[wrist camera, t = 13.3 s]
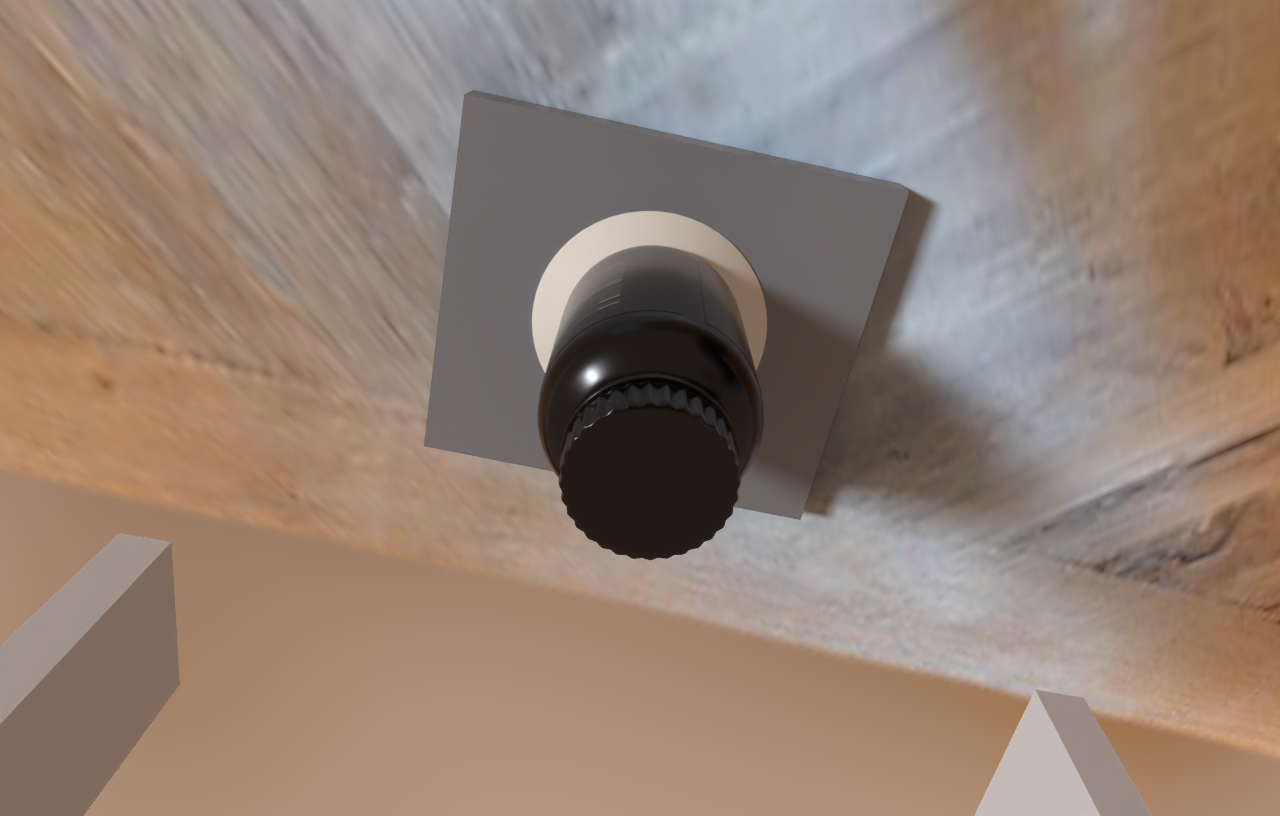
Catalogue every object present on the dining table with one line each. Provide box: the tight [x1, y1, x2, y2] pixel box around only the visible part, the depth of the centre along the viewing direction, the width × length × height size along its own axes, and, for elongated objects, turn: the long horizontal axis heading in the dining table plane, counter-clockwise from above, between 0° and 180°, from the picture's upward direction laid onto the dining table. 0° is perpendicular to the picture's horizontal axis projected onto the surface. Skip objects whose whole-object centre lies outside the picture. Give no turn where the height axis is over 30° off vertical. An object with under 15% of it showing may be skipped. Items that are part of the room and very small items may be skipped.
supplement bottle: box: [537, 245, 764, 560], centre depth 28 cm, size 7×7×12 cm
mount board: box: [424, 90, 910, 520], centre depth 34 cm, size 16×14×2 cm
